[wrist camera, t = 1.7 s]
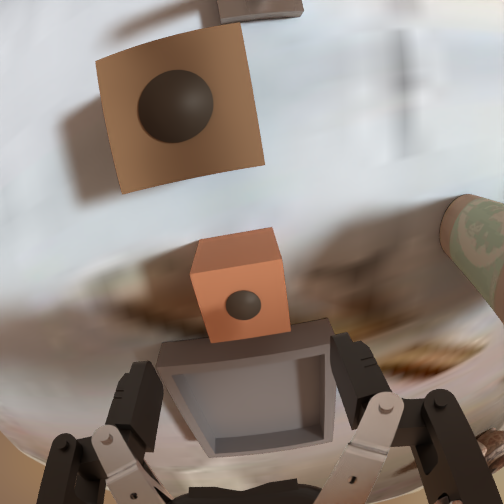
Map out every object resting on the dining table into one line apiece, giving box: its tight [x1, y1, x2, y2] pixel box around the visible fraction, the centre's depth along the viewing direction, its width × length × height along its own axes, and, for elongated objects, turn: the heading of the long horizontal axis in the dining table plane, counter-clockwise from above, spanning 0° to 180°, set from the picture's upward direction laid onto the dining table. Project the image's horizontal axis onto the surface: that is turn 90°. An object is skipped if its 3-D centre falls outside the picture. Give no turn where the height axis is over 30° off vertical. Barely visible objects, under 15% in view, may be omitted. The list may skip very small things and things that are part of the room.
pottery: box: [477, 428, 504, 474], centre depth 37 cm, size 11×25×12 cm, turn 69°
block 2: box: [190, 227, 291, 343], centre depth 19 cm, size 5×5×5 cm
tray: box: [156, 318, 336, 458], centre depth 26 cm, size 14×16×3 cm
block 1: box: [95, 22, 265, 194], centre depth 14 cm, size 6×6×7 cm
